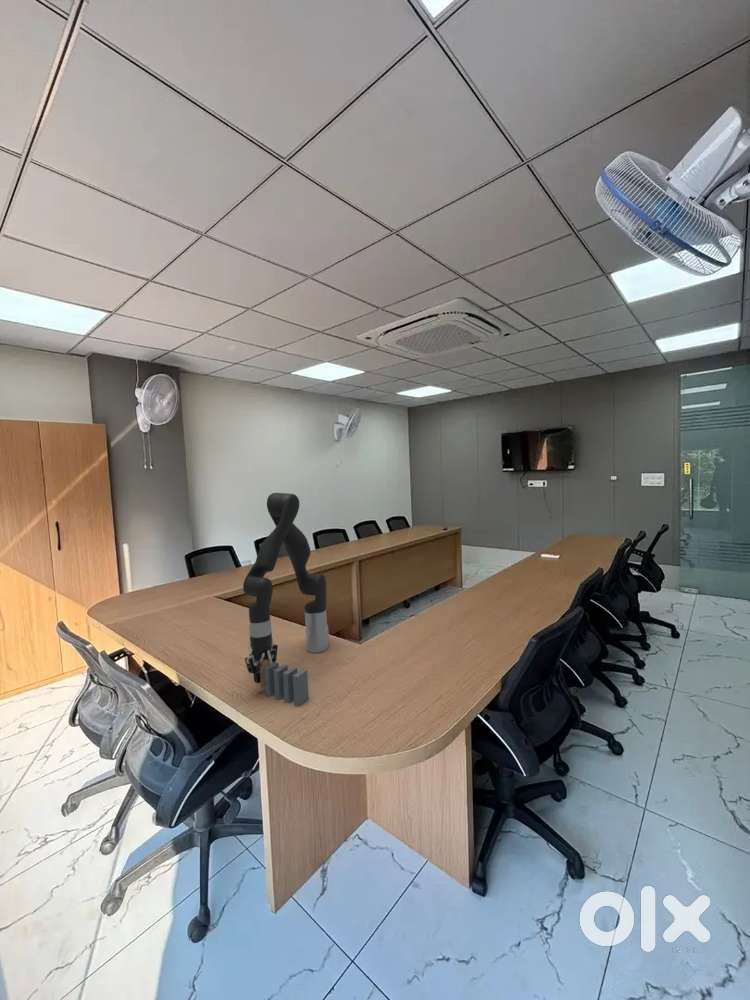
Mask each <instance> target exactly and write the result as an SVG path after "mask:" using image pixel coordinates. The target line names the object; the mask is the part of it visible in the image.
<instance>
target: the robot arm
mask: <svg viewBox="0 0 750 1000" xmlns="http://www.w3.org/2000/svg"><path fill="white" fill-rule="evenodd" d="M266 508H267V512H268V514H269V515H270V518H271V520H272V521H273V524H274V525H275V528H274V529H273V530H272V531H271V533H269V534H268V536H267V537H266V538H265V539H264V540H263V542H262V544H261V545H260V547H259V551H258V552H257V556H256V559H255V562H254V564H253V565H252V567H251V568H250V570H249V571H248V573H247V574H246V576H245V578H244V581H243V585H242V587H243V588H242V590H243V592H244V594H245V595H247V596H249V597H254V598H256V601H255V602H253V603H251V604H250V605H249V607H248V615H249V617H248V618H249V626H248V627H249V628H248V630H249V642H250V646H251V648H252V653H251V656H250V657H249V656H248V657H244V662H245V664H246V668H247V672H248V673H249V674H253V682H254V683H255V684H256V683H260V682H261V678H260V673H259V672H260V668H261V666H262V663H263V661H264V660H267V659H268V661H269V663H270V664H272V663H273V662H276V663H277V656H278V647H279V645H278V644H274V643H273V644H272V638H273V634H272V633H273V631H272V623H271V613H270V605H271V602H272V596H273V593H274V592H273V590H274V586H273V583H272V580H271V579H269V578H267V577H265V575H266V574H267V573H271V572H273V571H274V569H275V567H276V564H277V561H278V557H279V554H280V551H281V548H282V545H284V547H285V551H286V553H287V556H288V558H289V559H290V562H291V565H292V568H293V571H294V573H295V577H296V580H297V586H298V588H299V591H300V592H301V594H302V595H305V596H315V597H314V600H311V601H308V602H306V603H305V604H304V619H305V640H306V650H307V652H309V653H311V654H312V653H313V654H319V653H323V652H325V651H328V649H329V647H330V636H329V635H330V634H329V624H327V623H328V621H327V579H326V575H324V574H323V573H309V572H308V570H307V568H306V567H307V564H308V561H309V558H310V556H311V548H310V544H309V542H308V539H307V537H306V535H305V534H304V533H303V532H302V531H301V529H300V528H298V526H296V524H294V521H295V520H296V517H297V515H298V512H299V508H300V499H299V497H298V496H297V495H296V494H295V493H286V492H274V493H273V492H272V493H270V494H269V496H268V497H267V500H266ZM273 655H274V656H273ZM255 661H259V664H257V663H255ZM256 666H257V669H256Z"/></svg>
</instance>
